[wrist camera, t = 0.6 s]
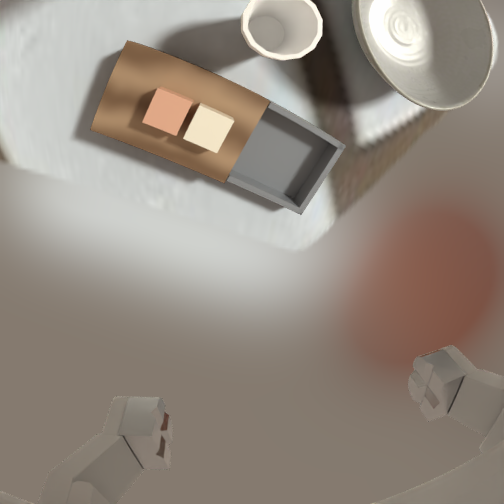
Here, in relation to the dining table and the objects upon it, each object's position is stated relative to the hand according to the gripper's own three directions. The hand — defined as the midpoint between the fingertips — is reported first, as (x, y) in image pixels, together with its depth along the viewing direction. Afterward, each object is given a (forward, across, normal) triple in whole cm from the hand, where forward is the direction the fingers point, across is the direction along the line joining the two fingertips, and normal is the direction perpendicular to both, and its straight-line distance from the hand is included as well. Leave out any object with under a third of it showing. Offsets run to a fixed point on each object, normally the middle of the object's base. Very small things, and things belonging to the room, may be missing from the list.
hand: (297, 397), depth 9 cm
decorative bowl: (+40, -30, -29) cm, 57 cm away
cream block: (+38, +3, -10) cm, 40 cm away
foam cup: (+41, -6, -25) cm, 48 cm away
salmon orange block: (+37, +8, -14) cm, 40 cm away
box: (+46, -8, -5) cm, 47 cm away
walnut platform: (+43, +7, -15) cm, 46 cm away
